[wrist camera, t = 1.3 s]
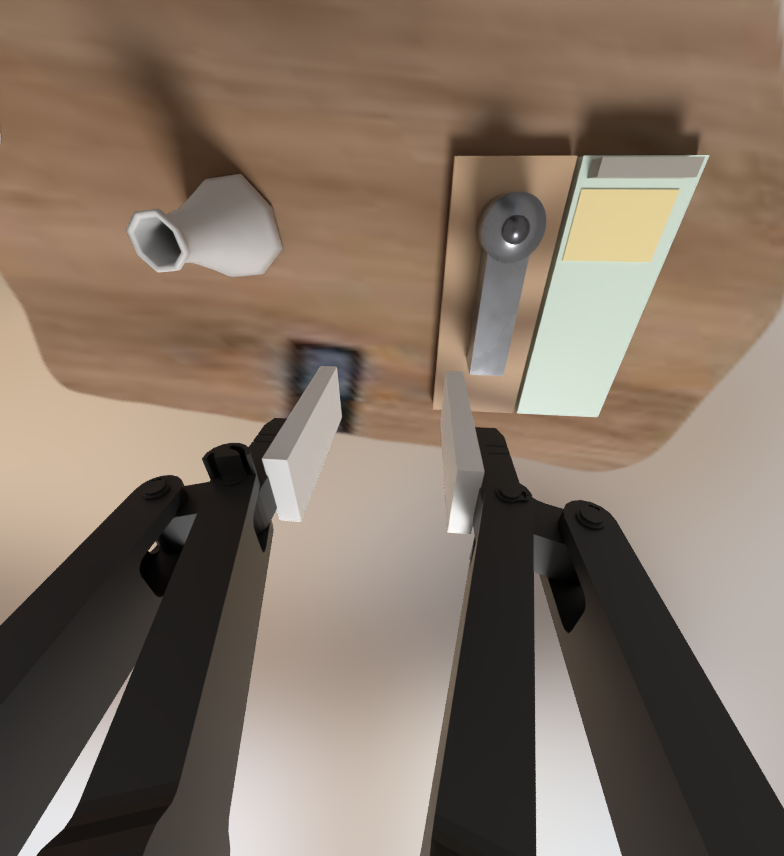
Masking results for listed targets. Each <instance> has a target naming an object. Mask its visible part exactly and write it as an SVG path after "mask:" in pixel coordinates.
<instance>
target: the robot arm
mask: <svg viewBox="0 0 784 856" xmlns="http://www.w3.org/2000/svg"><path fill="white" fill-rule="evenodd" d="M341 418H342V415H341V404H340V394H339V384H338V374H337V367H329V366H320V368H319V369H318V371H317V372H316V374H315V376H314V377H313V379H312V380H311V382H310V383H309V385H308V387H307V388H306V390H305V391H304V393H303V395H302V396H301V398H300V399H299V401H298V402H297V404H296V406H295V407H294V409H293V410H292V412H291V413H290V415H289V417H288V418H287V419H284V418H274V419H273V420H271V421H270V422H268V423H267V424H265V425H264V427H263V428H262V429H261V431H260V432H259V433H258V435H257V436H256V438H255V439H254V442H252V443H251V445H250V446H249V447H247V446H246V445H244V444H241V443H228V444H223V445H220V446H218V447H215V448H213V449H212V450H211V451H209V452H207V453H206V454H205V456H204V457H203V458H202V460H203V463H204V465H205V467H206V470H207V472H208V475H209V477H210V479H211V480H210V482H206V483H200V484H194V485H188V486H184V484H183V482H182V480H181V479H180V478H179V477H177V476H173V475H167V476H160V477H156V478H153V479H151V480H149V481H147V482H145V483H143V484H142V485H140V486H139V487H138V488H136V490H134V491H133V492H132V493H131V494H130V495H129V496H128V497H127V498H126V499H125V500H124V502H122V503H121V504H120V505H119V506H118V507H117V509H115V510H114V512H112V514H110V515H109V516H108V517H107V519H106V520H105V521H103V523H102V524H101V525H100V526H99V527H98V528H97V529H96V530H95V531H94V532H93V533H92V534H91V535H90V536H89V537H88V538H87V539H86V540H85V541H84V542H83V543H82V544H81V545H80V546H79V547H78V548H77V549H76V550H75V551H74V552H73V553H72V554H71V555H70V556H69V557H68V558H67V559H66V560H65V561H64V562H63V563H62V564H61V565H60V566H59V567H58V568H57V569H56V570H55V571H54V572H53V573H52V574H51V575H50V576H49V577H48V578H47V579H46V580H45V581H44V582H43V583H42V584H41V585H40V586H39V587H38V588H37V589H36V590H35V591H34V592H33V593H32V594H31V595H30V596H29V597H28V598H27V599H26V600H25V601H24V602H23V603H22V605H20V606H19V607H18V608H17V609H16V610H15V611H14V612H13V613H12V614H11V616H9V617H8V618H7V620H5V622H3V623H2V625H0V856H17V855H18V854H19V852H20V850H21V849H22V847H23V846H24V844H25V842H26V841H27V839H28V838H29V836H30V834H31V833H32V831H33V829H34V828H35V826H36V825H37V823H38V821H39V820H40V818H41V816H42V815H43V813H44V812H45V810H46V808H47V807H48V805H49V803H50V802H51V800H52V799H53V797H54V795H55V794H56V792H57V791H58V789H59V787H60V786H61V784H62V782H63V781H64V779H65V777H66V776H67V774H68V773H69V771H70V769H71V768H72V766H73V765H74V763H75V761H76V760H77V758H78V756H79V755H80V753H81V751H82V750H83V748H84V747H85V745H86V744H87V741H88V740H89V739H90V737H91V735H92V734H93V732H94V731H95V729H96V727H97V725H98V724H99V723H100V721H101V719H102V718H103V716H104V714H105V713H106V711H107V710H108V708H109V706H110V705H111V703H112V701H113V700H114V698H115V697H116V695H117V693H118V691H119V690H120V688H121V687H122V685H123V684H124V682H125V680H126V679H127V677H128V675H129V673H130V672H131V671H132V669H133V667H134V666H135V667H134V669H133V672H132V674H131V677H130V679H129V682H128V684H127V686H126V689H125V691H124V694H123V696H122V699H121V701H120V704H119V706H118V708H117V711H116V713H115V716H114V718H113V721H112V723H111V726H110V728H109V731H108V733H107V736H106V738H105V740H104V743H103V745H102V748H101V750H100V753H99V755H98V758H97V760H96V762H95V765H94V767H93V770H92V772H91V775H90V777H89V780H88V782H87V785H86V787H85V789H84V792H83V794H82V797H81V799H80V802H79V804H78V806H77V808H76V810H75V812H74V814H73V816H72V818H71V819H70V821H69V822H68V823H67V825H66V826H65V828H64V829H63V830H62V831H61V832H60V833H59V834H58V835H57V836H56V837H55V838H53V839H52V840H51V841H50V842H49V843H48V844H47V845H46V846H45V847H44V848H42V849H41V850H40V852H39V853H38V854H37V856H230V843H229V833H228V825H229V813H230V806H231V799H232V793H233V787H234V780H235V774H236V767H237V761H238V755H239V748H240V741H241V735H242V729H243V723H244V716H245V710H246V703H247V696H248V691H249V684H250V678H251V671H252V665H253V658H254V651H255V645H256V639H257V632H258V626H259V620H260V613H261V607H262V600H263V594H264V588H265V581H266V575H267V568H268V562H269V556H270V549H271V543H272V536H273V524H272V520H271V519H272V517H273V515H274V513H275V511H276V510H277V513H278V517H279V520H282V521H297V522H301V521H302V519H303V516H304V514H305V511H306V508H307V506H308V503H309V501H310V498H311V496H312V493H313V490H314V488H315V485H316V483H317V480H318V477H319V475H320V472H321V470H322V467H323V464H324V462H325V459H326V457H327V454H328V451H329V449H330V446H331V444H332V441H333V439H334V436H335V433H336V431H337V428H338V426H339V423H340V421H341ZM440 426H441V441H442V456H443V470H444V486H445V502H446V517H447V532H449V533H463V534H471V531H472V527H474V534H475V537H474V541H473V546H472V550H471V555H470V564H469V570H468V576H467V582H466V588H465V593H464V599H463V605H462V611H461V618H460V623H459V629H458V635H457V642H456V647H455V654H454V659H453V665H452V671H451V677H450V682H449V688H448V694H447V700H446V706H445V712H444V718H443V724H442V730H441V736H440V742H439V748H438V754H437V760H436V766H435V772H434V778H433V783H432V789H431V795H430V801H429V807H428V813H427V819H426V825H425V831H424V837H423V843H422V848H421V854H420V856H536V783H535V781H536V779H535V777H536V773H535V772H536V771H535V658H534V657H535V652H534V572H536V573H538V574H539V575H540V578H541V581H542V585H543V588H544V592H545V595H546V599H547V602H548V605H549V609H550V612H551V616H552V619H553V622H554V626H555V629H556V633H557V636H558V639H559V643H560V646H561V649H562V653H563V657H564V660H565V663H566V667H567V670H568V674H569V677H570V680H571V684H572V687H573V690H574V694H575V697H576V701H577V704H578V708H579V711H580V714H581V718H582V721H583V725H584V728H585V732H586V735H587V738H588V742H589V745H590V748H591V752H592V755H593V758H594V762H595V766H596V769H597V772H598V776H599V779H600V783H601V786H602V789H603V793H604V796H605V800H606V803H607V806H608V810H609V813H610V816H611V820H612V823H613V827H614V830H615V833H616V837H617V841H618V844H619V847H620V851H621V854H622V856H784V808H783V806H782V805H781V803H780V801H779V800H778V798H777V796H776V794H775V793H774V791H773V789H772V788H771V786H770V784H769V783H768V781H767V779H766V777H765V775H764V774H763V772H762V770H761V769H760V767H759V765H758V763H757V762H756V760H755V758H754V757H753V755H752V753H751V752H750V750H749V748H748V746H747V745H746V743H745V741H744V740H743V738H742V736H741V734H740V733H739V731H738V729H737V727H736V726H735V724H734V722H733V721H732V719H731V717H730V715H729V714H728V712H727V710H726V709H725V707H724V705H723V704H722V702H721V700H720V698H719V697H718V695H717V693H716V691H715V690H714V688H713V686H712V685H711V683H710V681H709V679H708V678H707V676H706V674H705V673H704V671H703V669H702V667H701V666H700V664H699V662H698V661H697V659H696V657H695V655H694V654H693V652H692V650H691V648H690V647H689V645H688V643H687V642H686V640H685V638H684V636H683V635H682V633H681V631H680V629H679V628H678V626H677V624H676V623H675V621H674V619H673V618H672V616H671V614H670V612H669V611H668V609H667V607H666V605H665V604H664V602H663V600H662V599H661V597H660V595H659V594H658V592H657V590H656V588H655V587H654V585H653V583H652V581H651V580H650V578H649V576H648V575H647V573H646V571H645V569H644V568H643V566H642V564H641V563H640V561H639V559H638V558H637V556H636V554H635V552H634V551H633V549H632V547H631V545H630V544H629V542H628V540H627V539H626V537H625V535H624V533H623V532H622V530H621V528H620V526H619V525H618V523H617V521H616V520H615V519H614V517H613V516H612V515H611V514H610V513H609V512H608V511H606V510H605V509H604V508H602V507H601V506H598V505H596V504H594V503H591V502H587V501H582V500H577V501H571V502H569V503H567V504H566V505H565V507H564V509H562V508H558V507H555V506H552V505H548V504H545V503H542V502H540V501H537V500H536V499H534V498H532V494H531V493H530V491H529V490H528V489H527V488H526V487H525V486H523V485H522V484H520V483H519V480H518V477H517V474H516V471H515V468H514V465H513V462H512V459H511V456H510V453H509V450H508V448H507V444H506V441H505V438H504V436H503V435H502V434H501V433H500V432H499V431H498V430H497V429H496V428H480V427H475V426H474V421H473V416H472V412H471V407H470V402H469V398H468V393H467V389H466V384H465V379H464V375H463V372H455V371H446V373H445V382H444V392H443V401H442V411H441V420H440ZM155 541H156V543H157V546H156V547H155V548H154V549H153V550H152V551H151V552H149V551H148V550H149V549H150V547H151V546H152V545H153V544H154V542H155Z"/></svg>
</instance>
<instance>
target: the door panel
mask: <svg viewBox="0 0 784 856" xmlns="http://www.w3.org/2000/svg"><path fill="white" fill-rule="evenodd" d="M708 158H709V155H618V156H581V157H577V160H576V164H575V168H574V172H573V176H572V180H571V184H570V188H569V192H568V196H567V200H566V204H565V208H564V212H563V216H562V220H561V224H560V228H559V232H558V236H557V240H556V244H555V248H554V252H553V256H552V260H551V263H550V267H549V271H548V275H547V279H546V283H545V287H544V291H543V295H542V299H541V303H540V307H539V311H538V315H537V319H536V323H535V327H534V331H533V335H532V339H531V343H530V347H529V351H528V355H527V359H526V363H525V367H524V371H523V375H522V379H521V383H520V387H519V391H518V395H517V399H516V403H515V410H516V412H517V413H522V414H543V415H564V416H585V417H598V415H599V413H600V411H601V408H602V406H603V404H604V401H605V399H606V396H607V394H608V392H609V389H610V387H611V385H612V382H613V380H614V378H615V375H616V373H617V371H618V368H619V366H620V364H621V361H622V359H623V357H624V354H625V352H626V350H627V347H628V345H629V343H630V340H631V338H632V336H633V333H634V331H635V329H636V326H637V324H638V322H639V319H640V317H641V315H642V312H643V310H644V307H645V305H646V303H647V300H648V298H649V296H650V293H651V291H652V289H653V286H654V284H655V282H656V279H657V277H658V275H659V272H660V270H661V268H662V265H663V263H664V261H665V258H666V256H667V254H668V251H669V249H670V247H671V244H672V242H673V240H674V237H675V235H676V233H677V230H678V228H679V225H680V223H681V221H682V218H683V216H684V214H685V211H686V209H687V207H688V204H689V202H690V200H691V197H692V195H693V193H694V190H695V188H696V186H697V183H698V181H699V179H700V176H701V174H702V172H703V169H704V167H705V165H706V162H707V160H708Z"/></svg>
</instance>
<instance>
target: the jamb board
mask: <svg viewBox="0 0 784 856" xmlns="http://www.w3.org/2000/svg"><path fill="white" fill-rule="evenodd" d="M576 160H577V156H455V157H454V162H453V174H452V185H451V197H450V208H449V220H448V232H447V243H446V255H445V266H444V278H443V289H442V301H441V313H440V324H439V336H438V347H437V359H436V371H435V382H434V394H433V409H438V410H442V401H443V392H444V382H445V373H446V371H455V372H463V375H464V379H465V384H466V389H467V393H468V398H469V402H470V407H471V411H480V412H501V413H513V411H514V407H515V403H516V399H517V395H518V391H519V387H520V383H521V379H522V375H523V371H524V367H525V363H526V359H527V355H528V351H529V347H530V343H531V339H532V335H533V331H534V327H535V323H536V319H537V315H538V311H539V307H540V303H541V299H542V295H543V291H544V287H545V283H546V279H547V275H548V271H549V267H550V263H551V260H552V256H553V252H554V248H555V244H556V240H557V236H558V232H559V228H560V224H561V220H562V216H563V212H564V208H565V204H566V200H567V196H568V192H569V188H570V184H571V180H572V176H573V172H574V168H575V164H576ZM510 192H527V193H530V194H533V195H534V196H536V197H537V198H538V199H539V200H540V201H541V203H542V204H543V206H544V209H545V212H546V220H547V221H546V229H545V233H544V236H543V238H542V240H541V242H540V244H539V245H538V247H537V248H536V249H535V250H534V252H532V253H531V254H530V255H529V260H528V265H527V269H526V274H525V279H524V283H523V288H522V292H521V297H520V302H519V306H518V311H517V316H516V320H515V325H514V330H513V334H512V339H511V343H510V348H509V353H508V357H507V362H506V367H505V371H504V376H493V375H470V374H469V370H468V366H467V362H466V357H467V349H468V342H469V335H470V328H471V321H472V314H473V307H474V300H475V293H476V286H477V278H478V271H479V264H480V257H481V250H482V248H481V246H480V244H479V242H478V239H477V234H476V227H477V221H478V218H479V215H480V213H481V211H482V210H483V208H484V207H485V205H486V204H487V203H488V202H489V201H490V200H492V199H493V198H494V197H496V196H498V195H500V194H503V193H510Z"/></svg>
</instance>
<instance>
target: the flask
mask: <svg viewBox="0 0 784 856" xmlns="http://www.w3.org/2000/svg"><path fill="white" fill-rule="evenodd" d="M126 232H127V234H128V236H129V238H130V240H131V242H132V244H133V246H134V248H135V251H136V253H137V255H138V256H139V257H140V258H142V259H143V260H144V261H145V262H146V263H147V264H149V265H150V266H151V267H152V268H153V269H154V270H156V271H157V272H158V273H159V272H168V271H177V270H180V269H181V268H182V266H183V265H184V263H196V264H199V265H202V266H205V267H207V268H210V269H213V270H216V271H218V272H220V273H223V274H225V275H227V276H230V277H241V276H250V275H260V274H264V273H265V271H266V270H267V269H268V267H269V266H270V265H271V264H272V262H273V261H274V260H275V258H276V257H277V256H278V254H279V253H280V252H281V251H282V249H283V248H282V244H281V240H280V236H279V232H278V229H277V225H276V221H275V217H274V213H273V209H272V207H271V206H270V205H269V204H268V203H267V201H266V200H265V199H264V198H263V197H262V196H261V195H260V194H259V193H258V192H257V191H256V190H255V188H254V187H253V186H252V185H251V184H250V183H249V182H248V181H247V180H246V179H245V178H244V176H243V175H242V174H236V175H229V176H222V177H215V178H208V179H205V180H204V181H203V182H202V183H201V184H200V186H199V187H198V188H197V189H196V191H195V192H194V193H193V194H192V195H191V196H190V197H189V198H188V199H187V200H186V201H185V202H184V203H183V204H182V205H181V206H180V207H179V208H178V209H177V210H175V211H173V212H170V213H168V214H165V213H164V212H162V211H161V210H160V209H153V210H146V211H139V212H134V214H133V216H132V218H131V220H130V222H129V224H128V227H127V229H126Z"/></svg>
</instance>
